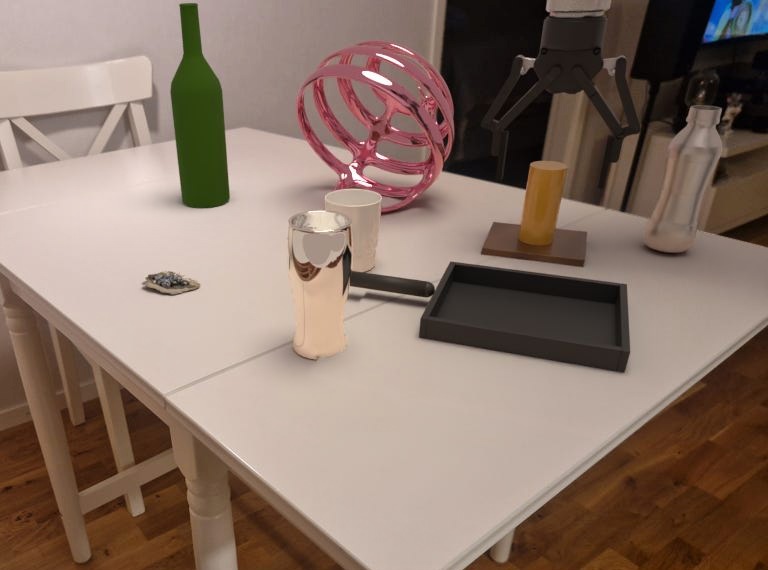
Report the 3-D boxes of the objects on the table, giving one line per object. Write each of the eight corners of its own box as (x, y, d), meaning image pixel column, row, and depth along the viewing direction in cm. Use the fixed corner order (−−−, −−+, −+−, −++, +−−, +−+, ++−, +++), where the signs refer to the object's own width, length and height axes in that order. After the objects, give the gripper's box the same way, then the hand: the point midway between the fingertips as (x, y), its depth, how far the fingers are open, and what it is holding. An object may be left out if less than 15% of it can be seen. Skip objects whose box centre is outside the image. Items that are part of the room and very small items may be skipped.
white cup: (348, 280, 91) (350, 209, 85) (313, 263, 96) (313, 196, 91) (390, 266, 95) (394, 197, 89) (353, 250, 100) (356, 185, 95)
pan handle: (435, 294, 83) (437, 280, 82) (432, 301, 81) (433, 286, 80) (345, 281, 87) (345, 267, 86) (340, 287, 85) (340, 273, 84)
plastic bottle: (653, 238, 101) (691, 101, 91) (698, 250, 97) (744, 107, 87) (631, 248, 98) (668, 107, 88) (677, 261, 94) (722, 114, 83)
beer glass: (301, 328, 79) (300, 206, 71) (357, 337, 77) (362, 213, 69) (280, 356, 74) (275, 227, 66) (339, 366, 71) (342, 235, 64)
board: (585, 240, 101) (587, 231, 100) (582, 270, 92) (584, 260, 91) (492, 230, 106) (493, 221, 105) (480, 257, 97) (481, 247, 96)
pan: (621, 305, 82) (627, 283, 81) (623, 376, 68) (630, 351, 67) (447, 281, 90) (450, 261, 88) (418, 341, 76) (420, 318, 74)
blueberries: (153, 273, 94) (151, 261, 93) (207, 276, 93) (206, 263, 92) (136, 293, 88) (134, 280, 88) (193, 296, 87) (192, 283, 86)
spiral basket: (345, 115, 91) (436, -18, 97) (231, 135, 112) (312, 25, 119) (436, 247, 107) (508, 126, 114) (321, 243, 129) (388, 141, 135)
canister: (554, 235, 99) (568, 162, 94) (551, 247, 95) (566, 171, 90) (519, 232, 101) (531, 159, 95) (516, 243, 97) (528, 168, 91)
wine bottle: (238, 196, 125) (226, 1, 108) (212, 210, 118) (195, 5, 101) (199, 191, 128) (182, 1, 111) (172, 204, 121) (149, 5, 105)
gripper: (470, 17, 84) (455, 182, 95) (691, 14, 75) (647, 196, 86) (479, 14, 90) (464, 169, 101) (685, 10, 81) (644, 181, 92)
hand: (548, 182), depth 94 cm, fingers open, 13 cm apart
